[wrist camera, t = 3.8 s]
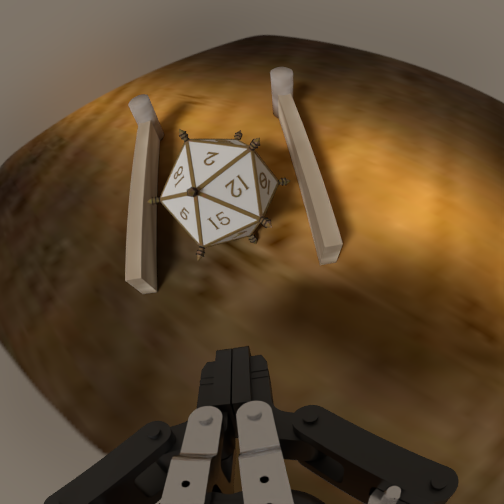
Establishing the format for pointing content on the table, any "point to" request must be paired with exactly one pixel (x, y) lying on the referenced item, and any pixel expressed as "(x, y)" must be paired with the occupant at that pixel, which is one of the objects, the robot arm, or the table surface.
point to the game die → (219, 190)
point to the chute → (146, 179)
